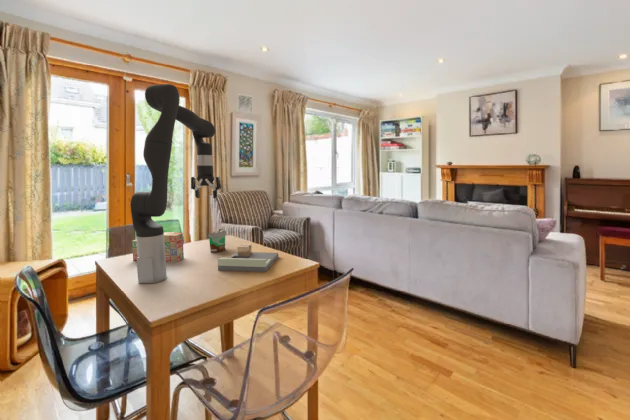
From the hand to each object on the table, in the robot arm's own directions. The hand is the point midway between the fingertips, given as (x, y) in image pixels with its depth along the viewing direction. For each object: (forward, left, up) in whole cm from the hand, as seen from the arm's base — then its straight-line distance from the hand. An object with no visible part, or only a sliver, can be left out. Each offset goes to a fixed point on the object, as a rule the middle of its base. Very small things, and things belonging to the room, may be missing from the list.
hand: (206, 198), depth 162 cm
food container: (+2, -5, -27) cm, 28 cm away
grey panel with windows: (-18, -27, -27) cm, 42 cm away
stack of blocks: (-16, +17, -27) cm, 36 cm away
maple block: (-10, -22, -25) cm, 35 cm away
